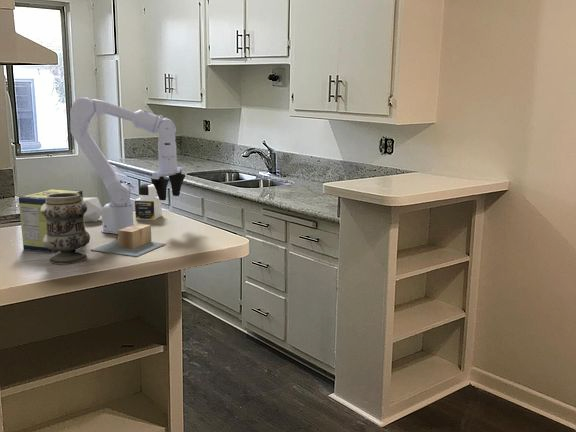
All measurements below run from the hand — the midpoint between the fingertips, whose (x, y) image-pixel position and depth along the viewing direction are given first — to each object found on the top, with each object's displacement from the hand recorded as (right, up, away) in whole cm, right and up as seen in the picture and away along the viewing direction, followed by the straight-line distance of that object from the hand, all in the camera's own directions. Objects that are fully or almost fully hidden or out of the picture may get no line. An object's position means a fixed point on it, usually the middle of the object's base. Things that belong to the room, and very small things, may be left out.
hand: (169, 197), depth 194 cm
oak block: (-5, -11, -14) cm, 18 cm away
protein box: (-31, -15, -17) cm, 38 cm away
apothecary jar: (-21, -18, -31) cm, 42 cm away
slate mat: (-8, -15, -20) cm, 26 cm away
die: (-30, -8, +13) cm, 34 cm away
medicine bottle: (-11, -7, +18) cm, 22 cm away
